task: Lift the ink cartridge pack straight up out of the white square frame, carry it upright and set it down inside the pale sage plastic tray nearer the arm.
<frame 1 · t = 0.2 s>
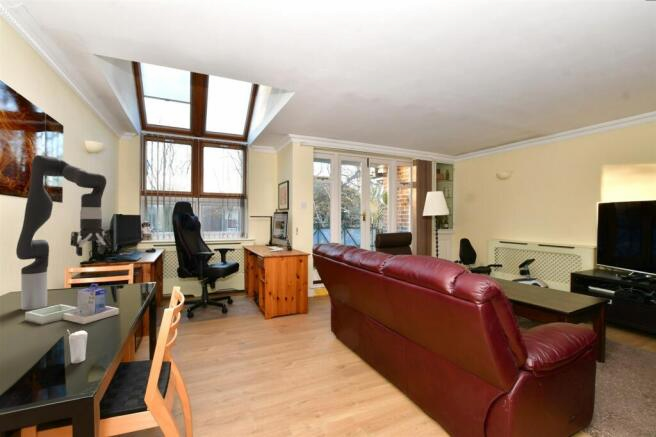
hand: (90, 254, 134), 28 cm above the table, tool pointing down, fingers open, 8 cm apart
ink cartridge box: (91, 317, 137), on the table
tray: (52, 317, 135), on the table
white square frame: (91, 316, 137), on the table
milkshake: (76, 361, 95), on the table
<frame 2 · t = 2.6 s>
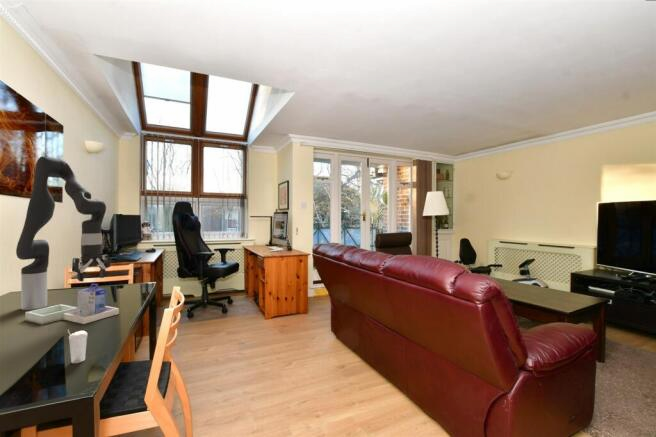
hand: (91, 279, 137), 17 cm above the table, tool pointing down, fingers open, 8 cm apart
nothing on the table moved.
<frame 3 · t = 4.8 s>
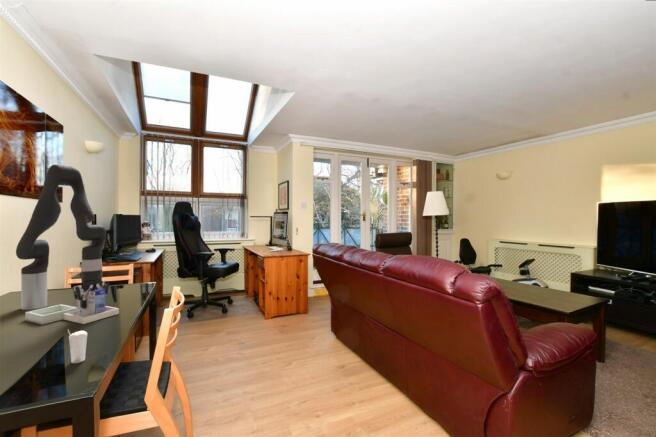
hand: (91, 306, 137), 5 cm above the table, tool pointing down, fingers closed on ink cartridge box, 5 cm apart
ink cartridge box: (91, 316, 137), on the table, touching gripper
everything else where it was.
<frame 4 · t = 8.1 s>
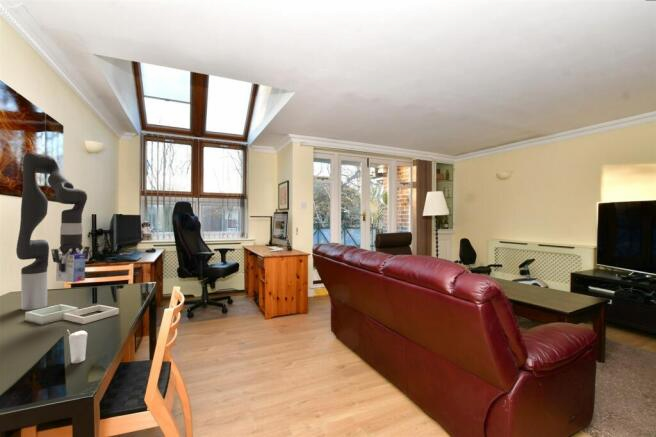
hand: (70, 270, 137), 21 cm above the table, tool pointing down, fingers closed on ink cartridge box, 5 cm apart
ink cartridge box: (70, 281, 137), point 16 cm above the table, touching gripper
everything else where it was.
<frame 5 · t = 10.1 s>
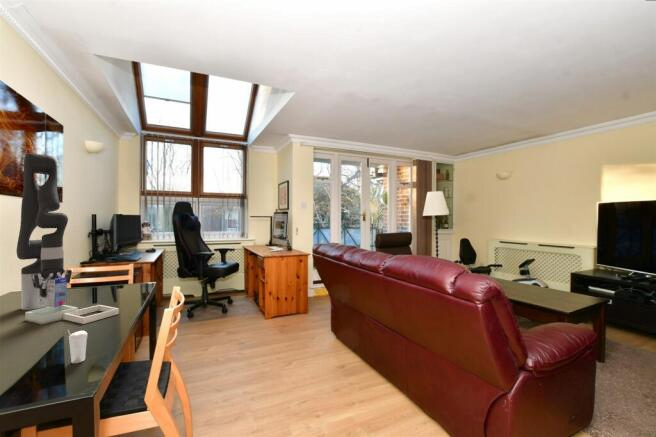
hand: (52, 295, 135), 10 cm above the table, tool pointing down, fingers closed on ink cartridge box, 5 cm apart
ink cartridge box: (52, 305, 135), point 5 cm above the table, touching gripper
everything else where it was.
when the fingers open (7 cm above the table, at t = 11.7 s): ink cartridge box drops 1 cm, resting on tray.
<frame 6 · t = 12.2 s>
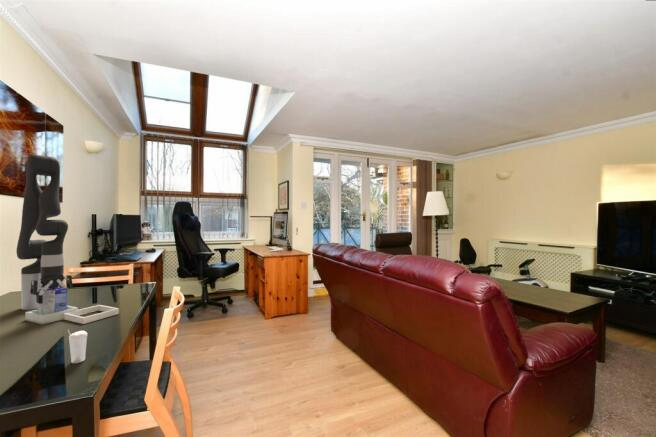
hand: (52, 301, 135), 7 cm above the table, tool pointing down, fingers open, 8 cm apart
ink cartridge box: (53, 316, 136), point 1 cm above the table, touching tray
everything else where it was.
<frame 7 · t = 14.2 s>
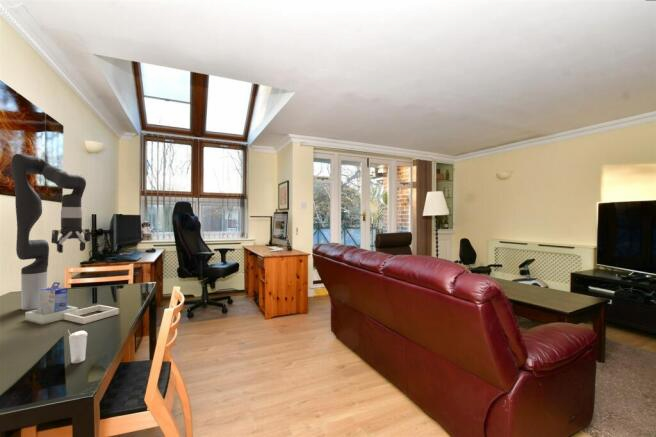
hand: (71, 251, 143), 29 cm above the table, tool pointing down, fingers open, 8 cm apart
nothing on the table moved.
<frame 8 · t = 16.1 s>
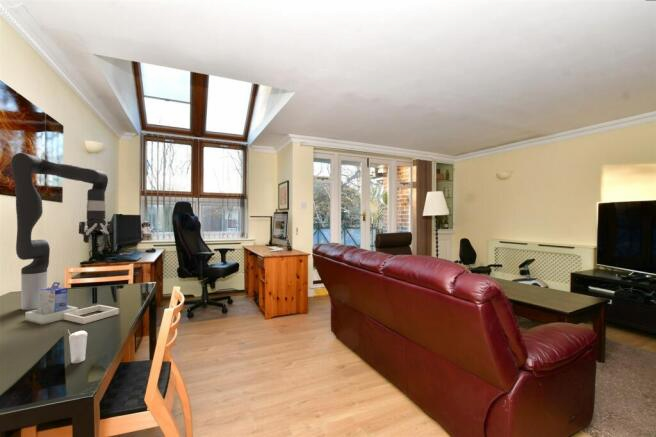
hand: (96, 242, 153), 32 cm above the table, tool pointing down, fingers open, 8 cm apart
nothing on the table moved.
at the end: ink cartridge box 0.4 cm off-centre on the tray, point 0.6 cm above the tray's base; ink cartridge box tilted 0°; the gripper is holding nothing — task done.
